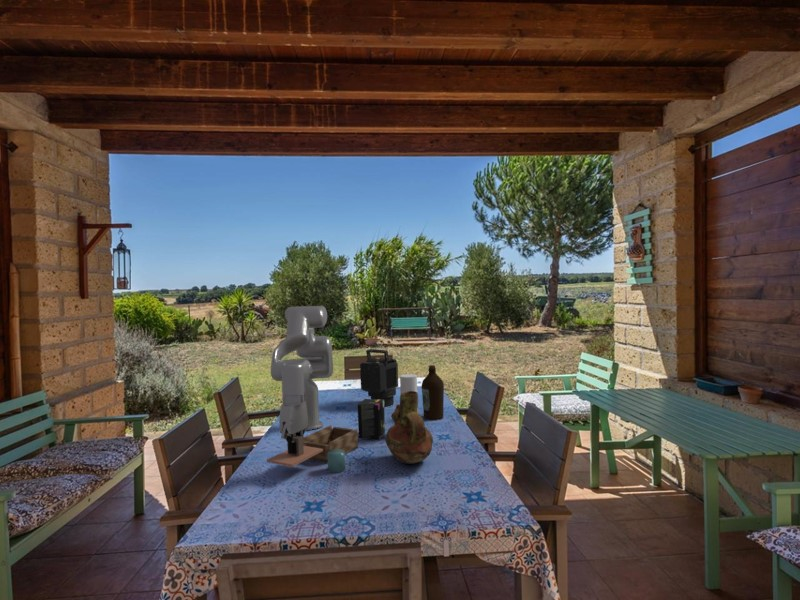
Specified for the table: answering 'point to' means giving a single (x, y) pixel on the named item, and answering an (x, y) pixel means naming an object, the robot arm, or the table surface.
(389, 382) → the lantern
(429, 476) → the table surface
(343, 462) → the teal rounded piece
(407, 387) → the cylindrical container
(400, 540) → the table surface
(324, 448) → the box
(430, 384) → the dark brown bottle
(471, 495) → the table surface
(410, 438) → the ceramic vessel
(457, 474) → the table surface
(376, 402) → the tampon box
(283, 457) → the brown piece
